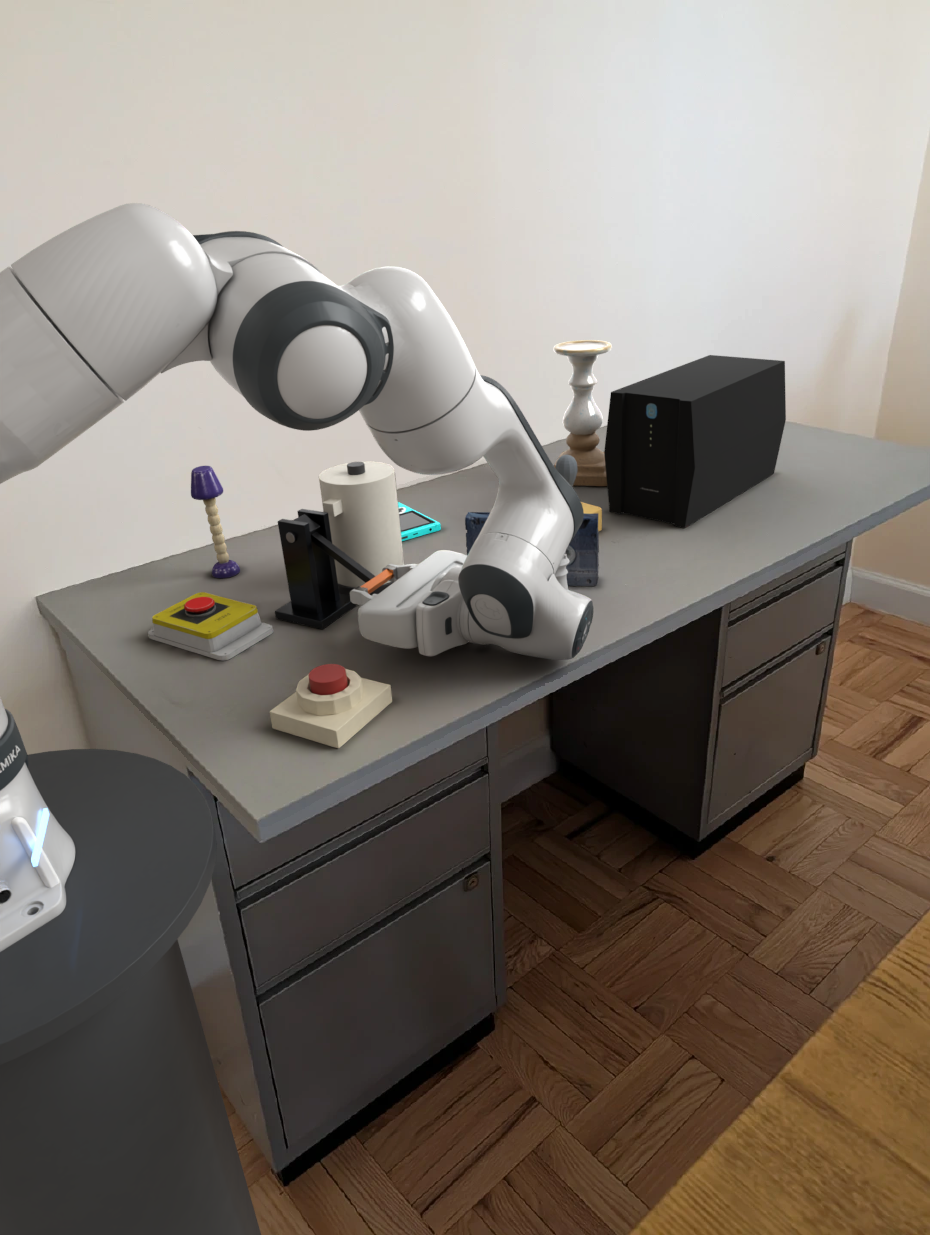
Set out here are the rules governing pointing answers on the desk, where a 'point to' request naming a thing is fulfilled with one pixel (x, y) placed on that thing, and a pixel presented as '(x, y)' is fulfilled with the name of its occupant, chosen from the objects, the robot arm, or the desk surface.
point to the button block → (331, 710)
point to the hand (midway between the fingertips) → (369, 582)
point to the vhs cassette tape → (578, 552)
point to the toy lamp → (213, 517)
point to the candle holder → (584, 411)
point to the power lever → (345, 558)
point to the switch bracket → (310, 575)
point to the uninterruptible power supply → (694, 437)
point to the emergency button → (210, 626)
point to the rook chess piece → (562, 572)
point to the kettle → (363, 518)
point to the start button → (328, 679)
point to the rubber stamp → (569, 471)
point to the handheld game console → (415, 523)
